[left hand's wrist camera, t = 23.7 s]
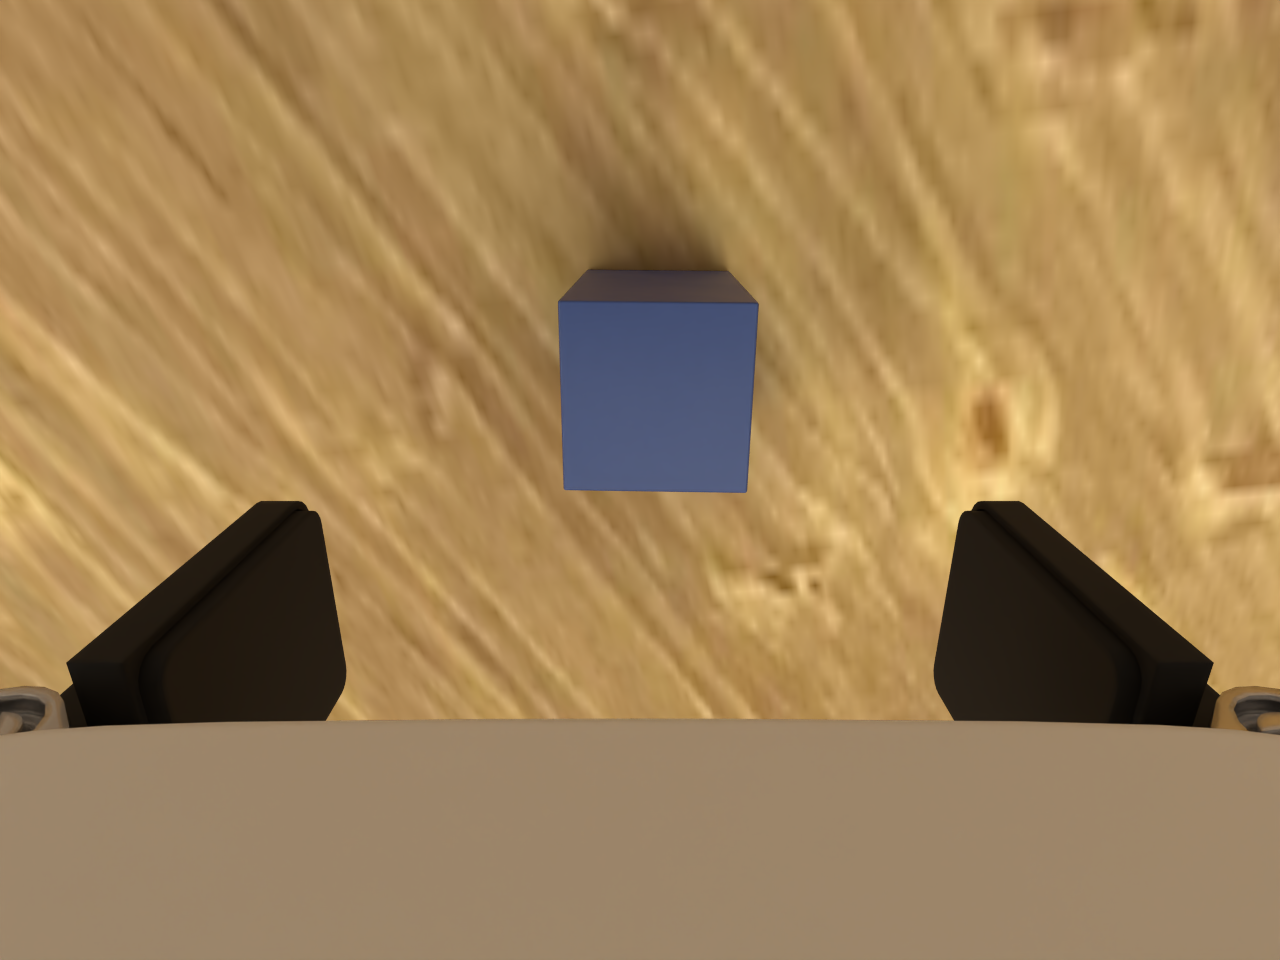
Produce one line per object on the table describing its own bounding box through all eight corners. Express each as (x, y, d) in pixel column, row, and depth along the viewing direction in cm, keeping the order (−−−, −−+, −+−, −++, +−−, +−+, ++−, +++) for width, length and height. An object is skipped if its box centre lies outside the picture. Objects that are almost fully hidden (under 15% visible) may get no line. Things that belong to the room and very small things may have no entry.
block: (722, 411, 31) (747, 493, 22) (589, 409, 31) (563, 490, 22) (729, 270, 29) (759, 302, 20) (586, 269, 29) (557, 300, 20)
